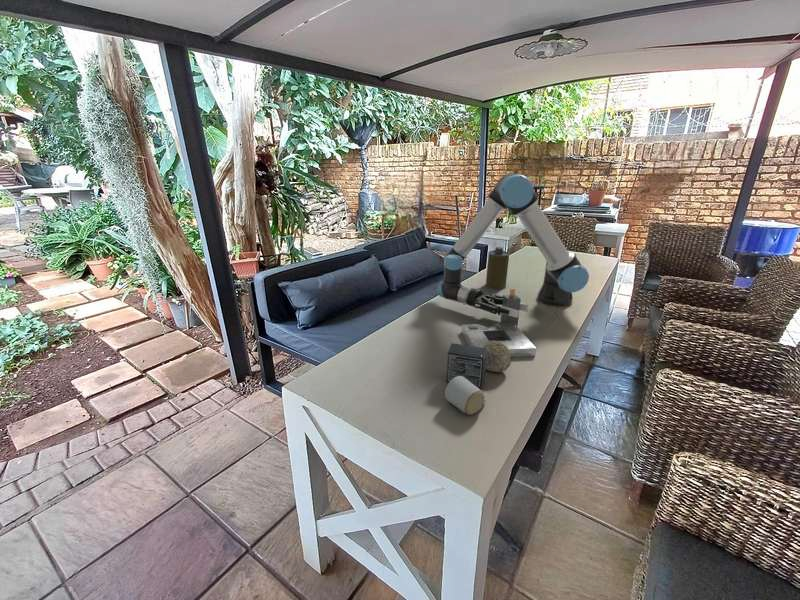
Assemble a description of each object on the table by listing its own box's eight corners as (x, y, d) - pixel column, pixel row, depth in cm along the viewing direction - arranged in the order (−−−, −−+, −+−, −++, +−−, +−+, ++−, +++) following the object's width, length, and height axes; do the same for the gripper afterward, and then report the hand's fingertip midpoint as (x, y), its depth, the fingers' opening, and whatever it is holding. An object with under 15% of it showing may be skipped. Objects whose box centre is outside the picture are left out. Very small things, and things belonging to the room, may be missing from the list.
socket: (512, 329, 141) (513, 321, 140) (535, 355, 123) (536, 346, 121) (461, 331, 140) (462, 323, 138) (476, 358, 121) (477, 349, 120)
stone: (483, 360, 120) (485, 333, 116) (511, 371, 114) (515, 342, 111) (473, 368, 115) (476, 340, 112) (502, 379, 110) (506, 350, 106)
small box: (484, 378, 111) (487, 347, 107) (482, 390, 105) (485, 358, 101) (450, 371, 114) (451, 341, 110) (445, 383, 108) (447, 351, 104)
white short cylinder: (465, 421, 92) (468, 395, 90) (443, 404, 99) (445, 380, 96) (493, 406, 98) (496, 381, 96) (470, 391, 105) (473, 367, 102)
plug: (512, 322, 148) (516, 287, 142) (517, 327, 143) (521, 291, 138) (500, 323, 147) (504, 287, 142) (504, 328, 143) (508, 292, 137)
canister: (508, 289, 184) (512, 250, 177) (487, 289, 185) (491, 250, 177) (503, 282, 195) (507, 245, 187) (483, 282, 195) (486, 245, 188)
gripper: (482, 298, 162) (532, 312, 147) (456, 311, 148) (509, 328, 134) (483, 282, 159) (535, 295, 145) (457, 294, 145) (511, 309, 131)
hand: (522, 311), depth 139 cm, fingers closed on plug, 7 cm apart
